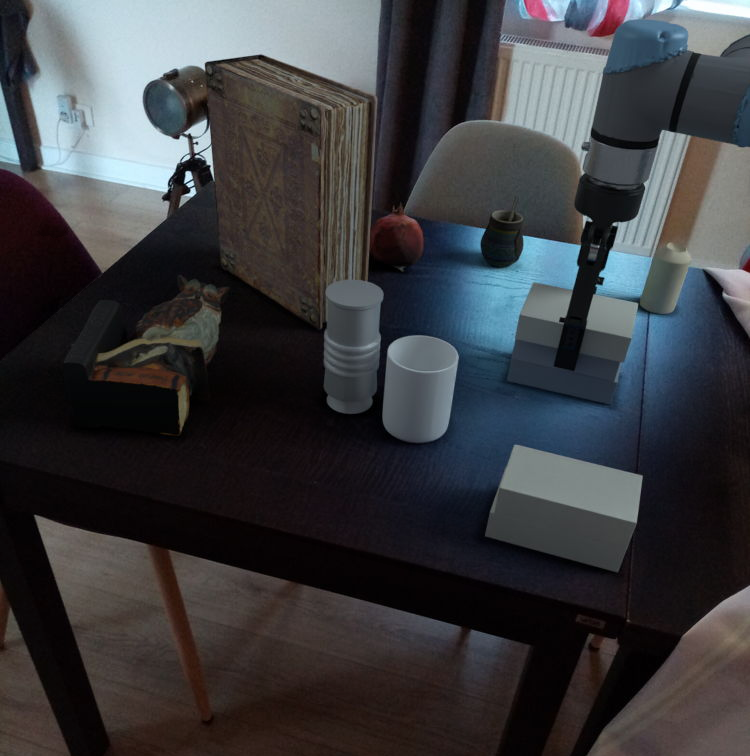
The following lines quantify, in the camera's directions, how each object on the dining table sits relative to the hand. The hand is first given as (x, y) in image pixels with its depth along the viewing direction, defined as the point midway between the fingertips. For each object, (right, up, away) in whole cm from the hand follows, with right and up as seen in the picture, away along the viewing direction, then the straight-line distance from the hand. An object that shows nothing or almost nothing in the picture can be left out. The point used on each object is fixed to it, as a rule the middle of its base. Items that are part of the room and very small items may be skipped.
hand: (570, 347), depth 104 cm
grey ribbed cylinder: (-29, -8, -4) cm, 31 cm away
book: (-39, +12, +18) cm, 45 cm away
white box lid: (0, +2, -2) cm, 2 cm away
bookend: (-54, -5, -3) cm, 54 cm away
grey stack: (0, -4, +3) cm, 5 cm away
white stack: (-7, -24, -20) cm, 32 cm away
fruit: (-23, +19, +27) cm, 40 cm away
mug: (-21, -10, -6) cm, 24 cm away
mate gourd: (-5, +21, +30) cm, 37 cm away
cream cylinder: (+19, +11, +21) cm, 30 cm away
